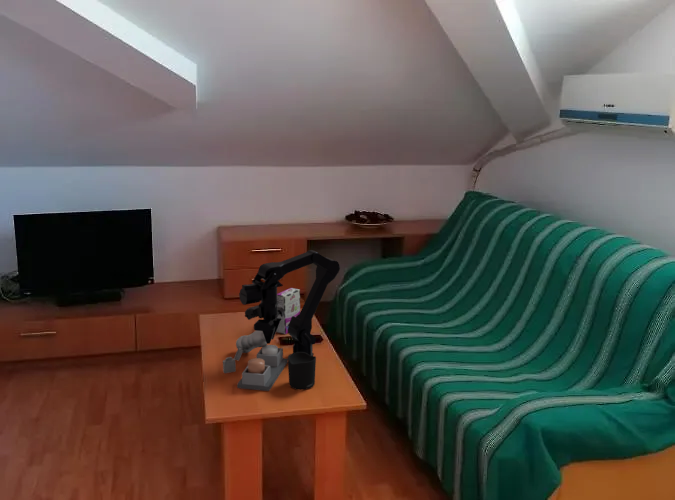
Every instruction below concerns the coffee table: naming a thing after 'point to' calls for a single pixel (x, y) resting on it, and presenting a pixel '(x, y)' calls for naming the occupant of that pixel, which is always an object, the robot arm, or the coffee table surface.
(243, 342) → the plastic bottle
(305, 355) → the pen holder
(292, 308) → the candy bar box
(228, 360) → the lighter
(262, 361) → the terracotta button
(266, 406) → the coffee table surface
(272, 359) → the twin socket base plate
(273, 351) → the grey button
